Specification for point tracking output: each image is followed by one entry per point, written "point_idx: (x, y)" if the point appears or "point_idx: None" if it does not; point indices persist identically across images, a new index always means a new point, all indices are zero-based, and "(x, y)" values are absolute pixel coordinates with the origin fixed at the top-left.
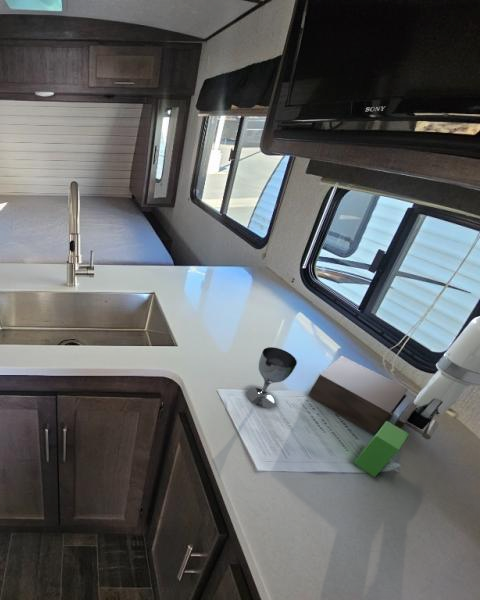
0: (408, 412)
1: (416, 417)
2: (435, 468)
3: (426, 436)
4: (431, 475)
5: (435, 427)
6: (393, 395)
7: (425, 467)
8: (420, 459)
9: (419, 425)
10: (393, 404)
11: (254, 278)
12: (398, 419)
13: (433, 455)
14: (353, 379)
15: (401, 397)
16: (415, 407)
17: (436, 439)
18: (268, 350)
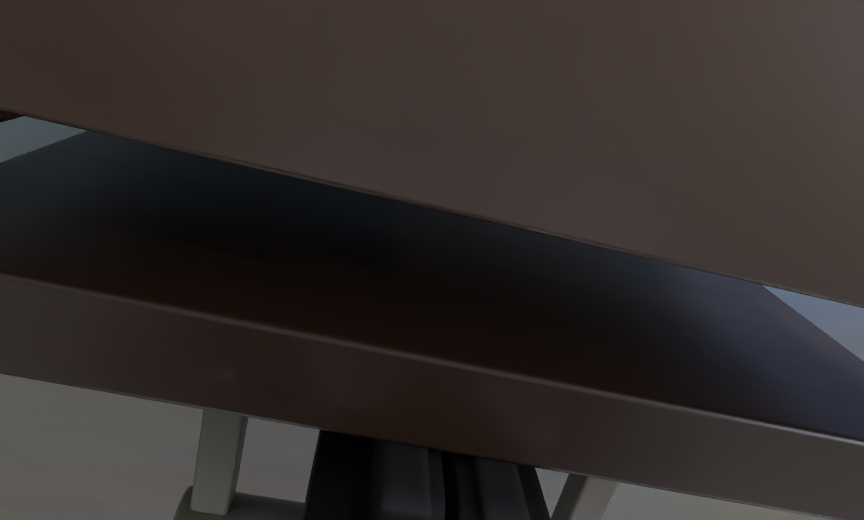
0: (325, 389)
1: (314, 489)
2: (131, 493)
3: None
4: (4, 470)
5: None
6: (716, 82)
7: (64, 438)
8: (139, 408)
9: (309, 480)
10: (178, 85)
11: None
12: (184, 236)
13: (297, 484)
14: None
15: (748, 270)
16: (623, 481)
17: (549, 503)
18: None
